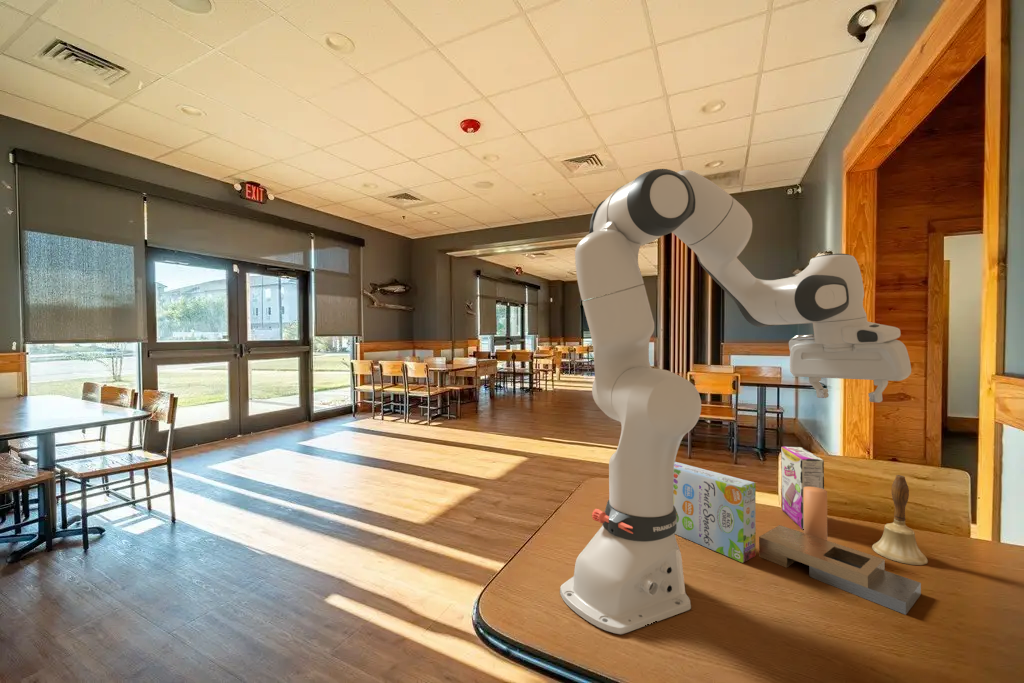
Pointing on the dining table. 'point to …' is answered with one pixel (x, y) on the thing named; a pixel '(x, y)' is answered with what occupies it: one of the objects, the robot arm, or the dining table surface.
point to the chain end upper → (819, 555)
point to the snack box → (715, 511)
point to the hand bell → (899, 531)
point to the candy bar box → (799, 480)
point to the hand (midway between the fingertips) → (848, 399)
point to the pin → (815, 512)
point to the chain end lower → (876, 588)
